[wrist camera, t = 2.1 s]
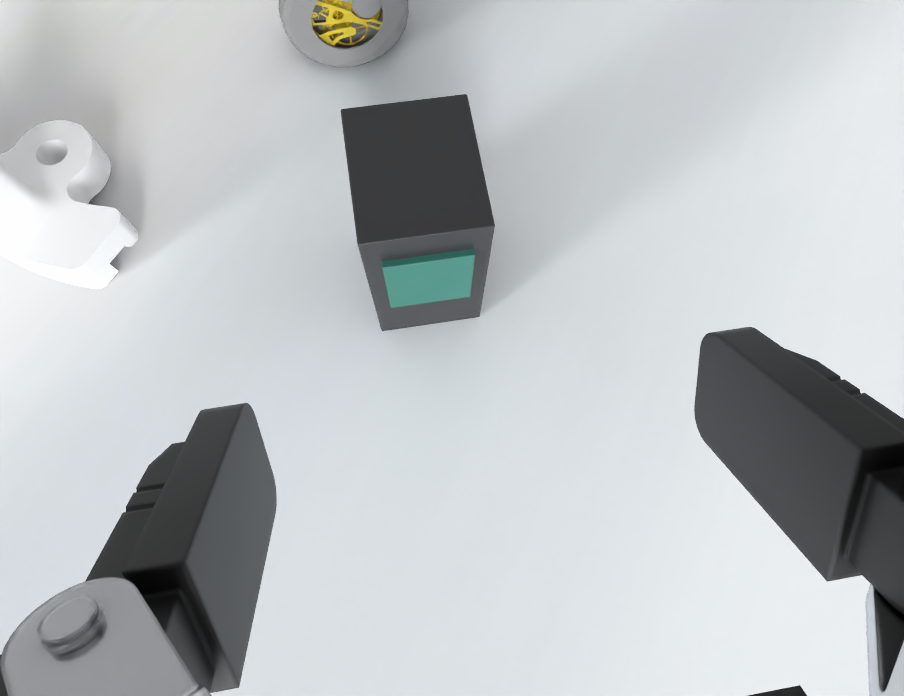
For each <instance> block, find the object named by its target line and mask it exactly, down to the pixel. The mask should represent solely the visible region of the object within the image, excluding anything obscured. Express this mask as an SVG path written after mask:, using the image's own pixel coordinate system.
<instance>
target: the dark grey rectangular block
mask: <svg viewBox="0 0 904 696" xmlns="http://www.w3.org/2000/svg"><path fill="white" fill-rule="evenodd" d="M341 117H342V125H343V133H344V141H345V149H346V157H347V164H348V172H349V180H350V188H351V196H352V204H353V212H354V220H355V227H356V235H357V243H358V247H359V251H360V254H361V258H362V262H363V265H364V269H365V272H366V276H367V279H368V283H369V287H370V290H371V294H372V297H373V301H374V304H375V308H376V311H377V315H378V319H379V322H380V326H381V329H382V331H385V330H392V329H399V328H406V327H413V326H419V325H426V324H433V323H440V322H447V321H453V320H460V319H467V318H474V317H479V316H480V310H481V304H482V298H483V292H484V286H485V280H486V275H487V269H488V263H489V257H490V251H491V245H492V239H493V233H494V227H495V224H494V220H493V215H492V210H491V206H490V201H489V196H488V191H487V187H486V182H485V177H484V172H483V168H482V163H481V158H480V154H479V149H478V144H477V139H476V135H475V130H474V125H473V120H472V116H471V111H470V106H469V102H468V97H467V95H466V94H464V95H455V96H447V97H439V98H430V99H422V100H414V101H406V102H397V103H389V104H381V105H373V106H364V107H356V108H348V109H342V110H341Z"/></svg>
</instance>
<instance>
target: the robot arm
mask: <svg viewBox="0 0 904 696" xmlns="http://www.w3.org/2000/svg"><path fill="white" fill-rule="evenodd" d="M694 411H695V420H696V424H697V428H698V430H699V433H700V435H701V437H702V438H703V440H704V441H705V443H706V444H707V445H708V446H709V447H710V448H711V450H712V451H713V452H714V453H715V454H716V455H717V456H718V458H719V459H720V460H721V461H722V462H723V463H724V464H725V465H726V467H727V468H728V469H729V470H730V471H731V472H732V473H733V475H734V476H735V477H736V478H737V479H738V480H739V481H740V483H741V484H742V485H743V486H744V487H745V488H746V489H747V491H748V492H749V493H750V494H751V495H752V496H753V497H754V499H755V500H756V501H757V502H758V503H759V504H760V505H761V506H762V508H763V509H764V510H765V511H766V512H767V513H768V514H769V516H770V517H771V518H772V519H773V520H774V521H775V522H776V524H777V525H778V526H779V527H780V528H781V529H782V530H783V532H784V533H785V534H786V535H787V536H788V537H789V538H790V540H791V541H792V542H793V543H794V544H795V545H796V546H797V547H798V549H799V550H800V551H801V552H802V553H803V554H804V555H805V557H806V558H807V559H808V560H809V561H810V562H811V563H812V565H813V566H814V567H815V568H816V569H817V570H818V571H819V573H820V574H821V575H822V576H823V577H824V578H825V579H826V581H832V580H837V579H843V578H848V577H854V576H859V575H863V576H864V577H865V578H866V579H867V580H868V581H869V582H870V583H871V584H870V587H869V590H868V593H867V597H866V624H867V649H868V674H869V696H904V419H903V418H901V417H900V416H898V415H897V414H895V413H894V412H892V411H891V410H889V409H888V408H886V407H885V406H883V405H882V404H880V403H879V402H877V401H876V400H874V399H873V398H872V397H870V396H869V395H867V394H866V393H862V394H861V393H860V389H858V388H857V387H855V386H854V385H852V384H851V383H849V382H848V381H846V380H841V379H840V376H839V375H837V374H836V373H834V372H833V371H831V370H830V369H828V368H827V367H825V366H824V365H822V364H821V363H819V362H818V361H816V360H814V359H811V358H808V357H806V356H803V355H800V354H798V353H795V352H792V351H790V350H787V349H784V348H783V347H781V346H780V345H778V344H777V343H775V342H774V341H773V340H771V339H770V338H768V337H767V336H765V335H764V334H762V333H761V332H760V331H758V330H757V329H755V328H752V327H745V328H739V329H732V330H726V331H719V332H713V333H708V334H706V335H705V336H704V338H703V340H702V342H701V347H700V356H699V366H698V376H697V387H696V397H695V409H694ZM136 489H137V492H136V493H133V495H132V497H131V499H130V501H129V502H128V504H127V506H126V512H124V513H122V515H121V517H120V519H119V521H118V523H117V524H116V526H115V528H114V530H113V532H112V534H111V535H110V537H109V539H108V541H107V543H106V544H105V546H104V548H103V550H102V552H101V554H100V555H99V557H98V559H97V561H96V563H95V565H94V566H93V568H92V570H91V572H90V574H89V576H88V577H87V579H86V581H85V582H83V583H80V584H78V585H75V586H73V587H70V588H68V589H66V590H64V591H63V592H61V593H59V594H57V595H55V596H54V597H52V598H51V599H49V600H47V601H46V602H45V603H43V604H42V605H41V606H39V607H38V608H37V609H35V610H34V611H33V612H32V613H31V614H30V615H29V616H28V617H26V619H25V620H24V621H23V622H22V623H21V624H20V625H19V626H18V627H17V628H16V630H15V631H14V632H13V634H12V635H11V636H10V638H9V640H8V642H7V643H6V645H5V647H4V650H3V653H2V654H1V655H0V696H211V695H210V693H212V692H218V691H223V690H228V689H234V688H239V684H240V680H241V675H242V670H243V665H244V661H245V656H246V651H247V646H248V642H249V637H250V632H251V627H252V622H253V618H254V613H255V608H256V603H257V599H258V594H259V589H260V584H261V580H262V575H263V570H264V565H265V560H266V556H267V551H268V546H269V541H270V537H271V532H272V527H273V522H274V518H275V513H276V486H275V480H274V476H273V472H272V469H271V466H270V462H269V459H268V456H267V453H266V449H265V446H264V443H263V440H262V436H261V433H260V430H259V427H258V423H257V420H256V417H255V414H254V411H253V409H252V407H251V406H250V405H249V404H248V403H244V404H237V405H231V406H224V407H217V408H211V409H204V410H202V411H200V413H199V414H198V416H197V418H196V420H195V423H194V425H193V427H192V429H191V431H190V433H189V435H188V437H187V439H186V441H185V442H181V443H175V444H172V445H171V446H169V447H168V448H167V449H166V450H165V451H164V452H163V453H162V454H161V455H160V456H158V457H157V458H156V459H155V460H154V461H153V462H152V463H151V464H150V465H149V466H148V468H147V470H146V471H145V473H144V475H143V477H142V479H141V481H140V482H139V484H138V486H137V488H136ZM749 696H807V695H806V694H805V692H804V691H803V689H802V688H801V686H795V687H790V688H784V689H779V690H774V691H769V692H764V693H759V694H754V695H749Z"/></svg>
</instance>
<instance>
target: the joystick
mask: <svg viewBox="0 0 904 696" xmlns="http://www.w3.org/2000/svg"><path fill="white" fill-rule="evenodd" d="M110 173H111V163H110V160H109V157H108V156H107V154H106V153H105V152H104V150H103V149H102V148H101V147H100V146H99V145H98V143H97V142H96V141H95V140H94V139H93V138H92V136H91V135H90V134H89V133H88V132H87V131H86V130H85V129H84V128H83V127H82V126H80V125H79V124H77V123H74V122H71V121H67V120H52V121H47V122H44V123H41V124H38V125H36V126H34V127H33V128H31V129H29V130H28V131H27V132H25V133H24V134H23V135H22V136H21V137H20V138H19V140H18V141H17V143H16V144H15V145H14V146H13V147H12V148H11V149H10V150H8V151H7V152H4V153H0V254H1V255H2V256H4V257H5V258H7V259H9V260H11V261H13V262H14V263H16V264H18V265H20V266H22V267H24V268H26V269H29V270H31V271H33V272H36V273H38V274H41V275H43V276H46V277H49V278H52V279H55V280H58V281H62V282H65V283H69V284H73V285H78V286H82V287H87V288H93V289H100V288H103V287H105V286H106V285H108V284H109V283H110V281H111V280H112V279H113V278H114V277H115V275H116V274H117V273H118V272H119V271H118V270H117V269H115V268H114V267H113V266H112V265H111V264H110V262H111V261H112V260H113V259H114V258H115V257H116V255H117V254H118V253H119V252H120V251H121V249H122V248H123V247H124V246H125V247H132V246H133V245H134V243H135V242H136V241H137V239H138V232H137V230H136V229H135V228H134V227H133V225H132V224H131V223H130V222H129V221H128V220H127V219H126V218H125V217H124V216H123V215H122V214H121V213H120V212H119V211H118V210H117V209H115V208H113V207H106V206H98V205H91V204H89V202H90V200H91V199H92V198H93V197H94V196H95V195H97V194H98V193H99V192H100V191H101V190H102V189H103V188H104V186H105V185H106V183H107V181H108V179H109V177H110Z"/></svg>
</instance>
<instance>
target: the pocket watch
mask: <svg viewBox="0 0 904 696" xmlns="http://www.w3.org/2000/svg"><path fill="white" fill-rule="evenodd" d="M279 12H280V17H281V21H282V23H283V26H284V29H285V32H286V33H287V35H288V36H289V38H290V40H291V42H292V43H293V44H294V45H295V46H296V47H297V49H298V50H299V51H300V52H302V53H303V54H304V55H306V56H307V57H308V58H310V59H312V60H314V61H316V62H319V63H322V64H326V65H330V66H335V67H349V66H357V65H361V64H364V63H368V62H370V61H372V60H374V59H376V58H378V57H380V56H382V55H383V54H384V53H386V52H387V51H388V50H389V49H391V48H392V47H393V45H394V44H395V43H396V42H397V41H398V40H399V38H400V36H401V34H402V32H403V31H404V29H405V26H406V22H407V18H408V0H279Z"/></svg>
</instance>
